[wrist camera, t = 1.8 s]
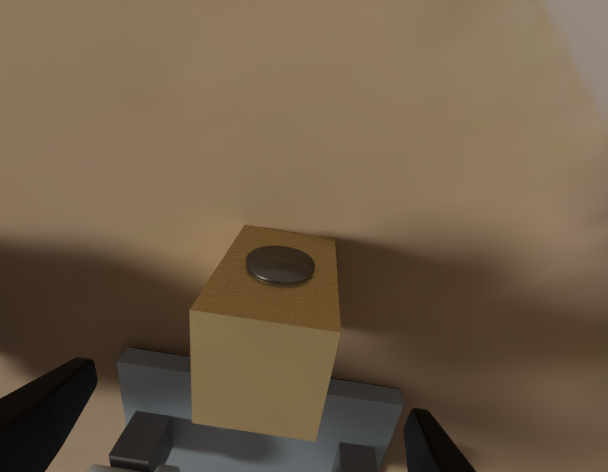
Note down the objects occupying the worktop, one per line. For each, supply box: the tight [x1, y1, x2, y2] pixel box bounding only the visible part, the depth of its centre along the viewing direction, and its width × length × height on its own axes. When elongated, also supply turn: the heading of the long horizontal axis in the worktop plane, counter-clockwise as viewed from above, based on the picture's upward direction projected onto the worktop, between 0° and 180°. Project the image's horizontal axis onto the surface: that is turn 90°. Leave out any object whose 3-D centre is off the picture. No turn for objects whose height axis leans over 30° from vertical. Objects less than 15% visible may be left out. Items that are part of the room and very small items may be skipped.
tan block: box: [189, 225, 341, 442], centre depth 12 cm, size 5×4×6 cm
